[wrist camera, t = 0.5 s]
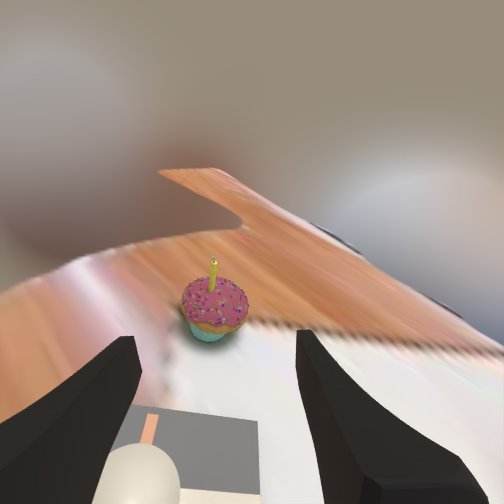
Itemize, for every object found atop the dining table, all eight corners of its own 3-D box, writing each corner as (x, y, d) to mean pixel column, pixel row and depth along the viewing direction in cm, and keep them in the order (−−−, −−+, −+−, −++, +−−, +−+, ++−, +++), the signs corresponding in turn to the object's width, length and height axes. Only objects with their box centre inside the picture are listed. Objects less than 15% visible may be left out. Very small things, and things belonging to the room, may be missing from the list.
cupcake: (187, 362, 33) (209, 285, 27) (167, 308, 38) (181, 235, 32) (249, 345, 38) (280, 276, 31) (223, 299, 43) (246, 233, 37)
